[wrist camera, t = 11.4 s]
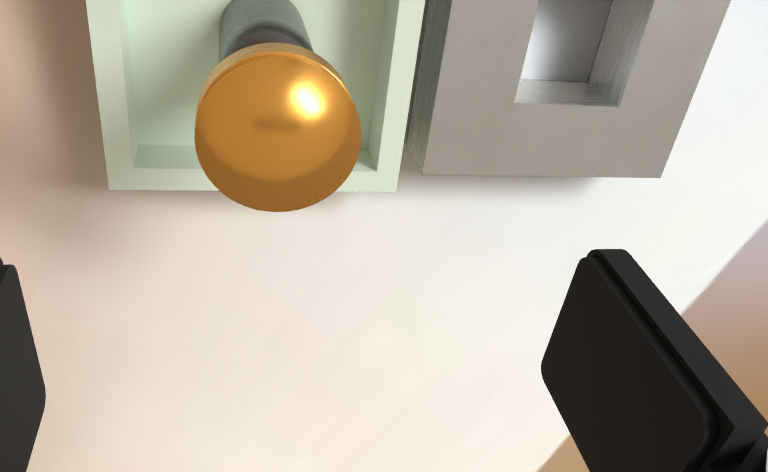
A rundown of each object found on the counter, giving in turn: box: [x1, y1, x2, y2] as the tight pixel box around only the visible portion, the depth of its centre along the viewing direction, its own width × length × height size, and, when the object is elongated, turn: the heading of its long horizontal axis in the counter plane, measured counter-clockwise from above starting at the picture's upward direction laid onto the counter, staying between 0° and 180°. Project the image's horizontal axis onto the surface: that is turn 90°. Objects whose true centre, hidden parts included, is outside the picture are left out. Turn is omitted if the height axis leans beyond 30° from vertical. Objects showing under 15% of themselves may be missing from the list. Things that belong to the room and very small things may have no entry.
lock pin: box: [194, 0, 362, 212], centre depth 22 cm, size 5×5×10 cm
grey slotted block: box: [407, 0, 731, 178], centre depth 28 cm, size 12×12×3 cm
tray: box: [86, 0, 425, 192], centre depth 25 cm, size 12×12×3 cm
